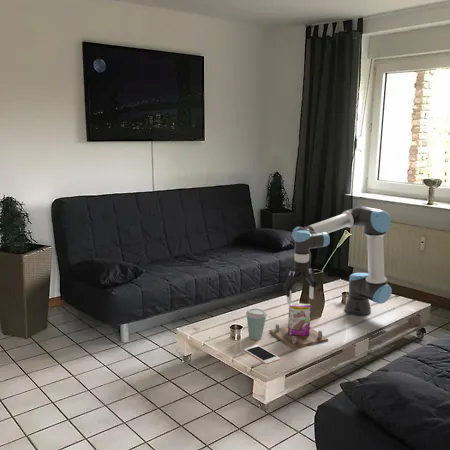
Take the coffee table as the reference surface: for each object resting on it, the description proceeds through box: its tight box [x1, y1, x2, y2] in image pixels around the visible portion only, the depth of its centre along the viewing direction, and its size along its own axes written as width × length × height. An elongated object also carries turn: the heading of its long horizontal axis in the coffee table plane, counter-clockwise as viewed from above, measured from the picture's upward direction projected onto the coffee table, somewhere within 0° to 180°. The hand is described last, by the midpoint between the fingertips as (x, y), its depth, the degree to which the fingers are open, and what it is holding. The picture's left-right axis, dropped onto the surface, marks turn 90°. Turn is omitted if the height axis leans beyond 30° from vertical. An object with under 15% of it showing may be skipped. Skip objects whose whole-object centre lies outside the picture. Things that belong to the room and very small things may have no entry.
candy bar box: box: [287, 302, 312, 336], centre depth 261 cm, size 11×5×16 cm, turn 84°
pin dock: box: [269, 323, 329, 350], centre depth 263 cm, size 22×22×5 cm
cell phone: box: [243, 344, 281, 365], centre depth 243 cm, size 9×18×1 cm, turn 35°
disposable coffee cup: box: [245, 308, 268, 341], centre depth 260 cm, size 11×11×15 cm
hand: (300, 300), depth 259 cm, fingers open, 13 cm apart
